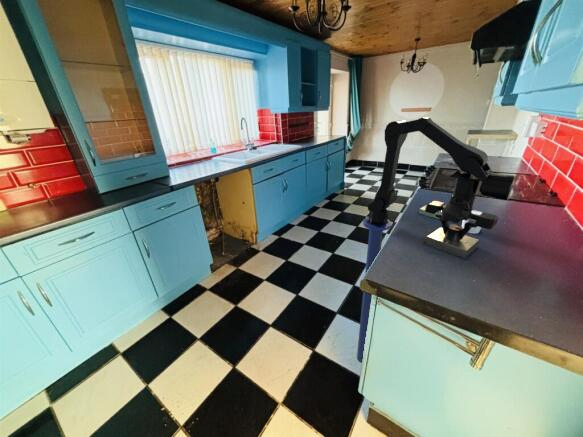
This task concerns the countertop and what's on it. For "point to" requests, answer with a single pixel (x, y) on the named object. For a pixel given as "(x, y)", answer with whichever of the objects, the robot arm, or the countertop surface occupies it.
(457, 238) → the knob
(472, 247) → the panel
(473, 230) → the white tapered cup
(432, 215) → the pale green button base
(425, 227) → the countertop surface
